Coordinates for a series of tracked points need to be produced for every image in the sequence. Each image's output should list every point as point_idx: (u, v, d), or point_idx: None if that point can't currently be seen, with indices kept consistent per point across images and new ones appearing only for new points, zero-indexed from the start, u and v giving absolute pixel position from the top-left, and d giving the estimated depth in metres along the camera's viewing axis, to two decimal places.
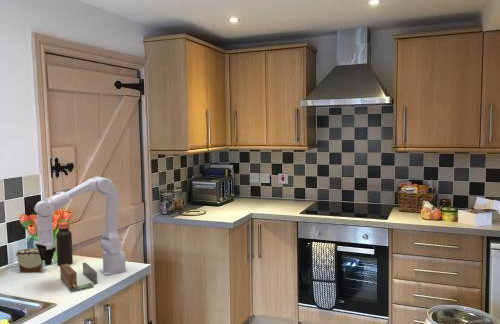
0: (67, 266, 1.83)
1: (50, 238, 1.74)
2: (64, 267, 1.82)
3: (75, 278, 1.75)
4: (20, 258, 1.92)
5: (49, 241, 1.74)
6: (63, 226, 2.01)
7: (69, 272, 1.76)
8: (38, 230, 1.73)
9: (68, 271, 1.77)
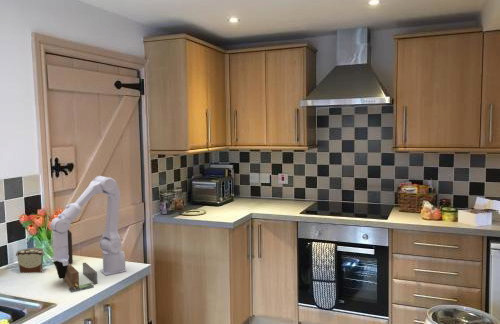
0: (69, 266, 1.84)
1: (66, 254, 1.77)
2: None
3: (77, 278, 1.76)
4: (20, 258, 1.92)
5: (65, 257, 1.77)
6: None
7: (71, 272, 1.76)
8: (55, 246, 1.75)
9: (70, 271, 1.77)
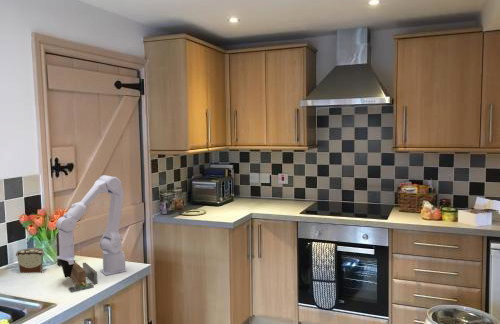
0: (76, 264, 1.85)
1: (72, 253, 1.78)
2: (73, 265, 1.84)
3: (84, 276, 1.78)
4: (20, 258, 1.92)
5: (71, 256, 1.78)
6: None
7: (78, 270, 1.78)
8: (61, 245, 1.76)
9: (77, 269, 1.79)
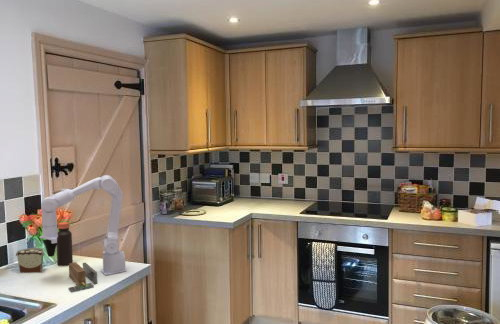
0: (76, 264, 1.85)
1: (55, 233, 1.82)
2: (73, 265, 1.84)
3: (84, 276, 1.78)
4: (20, 258, 1.92)
5: (54, 235, 1.82)
6: (63, 226, 2.01)
7: (78, 270, 1.78)
8: (42, 225, 1.81)
9: (77, 269, 1.79)
